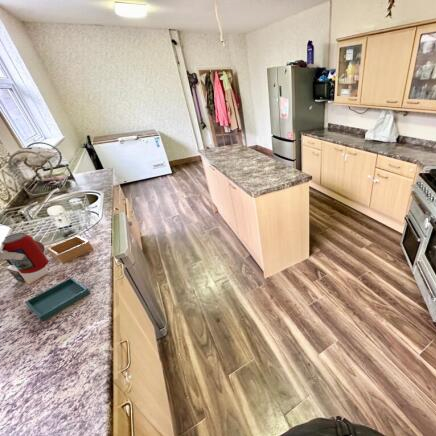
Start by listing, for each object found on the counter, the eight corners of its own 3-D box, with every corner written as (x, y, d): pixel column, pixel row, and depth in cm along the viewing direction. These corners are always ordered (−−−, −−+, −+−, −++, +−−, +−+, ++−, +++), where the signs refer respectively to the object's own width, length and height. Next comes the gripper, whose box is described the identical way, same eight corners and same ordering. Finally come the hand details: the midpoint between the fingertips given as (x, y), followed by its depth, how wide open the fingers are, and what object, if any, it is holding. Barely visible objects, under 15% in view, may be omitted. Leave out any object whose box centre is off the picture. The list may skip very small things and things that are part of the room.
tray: (42, 321, 74) (39, 317, 73) (27, 306, 80) (24, 301, 79) (90, 293, 84) (87, 288, 83) (74, 281, 90) (71, 276, 89)
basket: (62, 263, 100) (57, 255, 98) (52, 256, 105) (46, 248, 103) (93, 249, 108) (88, 241, 106) (82, 242, 114) (77, 235, 111)
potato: (25, 265, 100) (13, 250, 96) (24, 254, 107) (13, 240, 103) (49, 257, 105) (38, 242, 101) (47, 247, 112) (37, 233, 108)
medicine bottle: (17, 281, 91) (-4, 257, 86) (39, 269, 97) (21, 246, 91) (28, 285, 89) (8, 260, 83) (50, 272, 95) (32, 249, 89)
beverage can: (16, 274, 73) (-10, 242, 67) (40, 260, 79) (18, 230, 73) (31, 276, 71) (6, 245, 66) (55, 262, 77) (34, 232, 71)
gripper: (-57, 242, 55) (25, 257, 65) (-28, 213, 69) (36, 229, 79) (-72, 265, 55) (13, 277, 65) (-40, 231, 69) (26, 245, 79)
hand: (26, 250), depth 72 cm, fingers closed on beverage can, 7 cm apart
